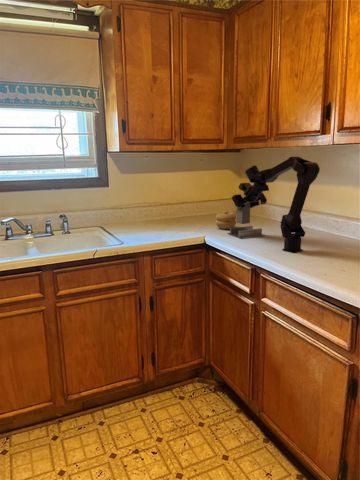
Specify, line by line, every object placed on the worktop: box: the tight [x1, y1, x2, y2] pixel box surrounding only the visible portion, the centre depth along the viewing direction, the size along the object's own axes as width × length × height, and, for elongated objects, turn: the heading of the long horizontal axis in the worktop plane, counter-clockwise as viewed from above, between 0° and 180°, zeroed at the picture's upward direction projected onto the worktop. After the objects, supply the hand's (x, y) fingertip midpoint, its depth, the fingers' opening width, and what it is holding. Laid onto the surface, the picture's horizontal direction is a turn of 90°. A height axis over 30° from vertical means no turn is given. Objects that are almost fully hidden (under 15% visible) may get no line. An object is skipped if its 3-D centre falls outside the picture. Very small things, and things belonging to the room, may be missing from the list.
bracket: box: [227, 225, 266, 240], centre depth 198 cm, size 13×15×4 cm
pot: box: [215, 210, 237, 230], centre depth 214 cm, size 12×12×10 cm
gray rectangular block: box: [236, 196, 251, 225], centre depth 194 cm, size 5×5×13 cm
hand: (242, 209), depth 195 cm, fingers closed on gray rectangular block, 5 cm apart
